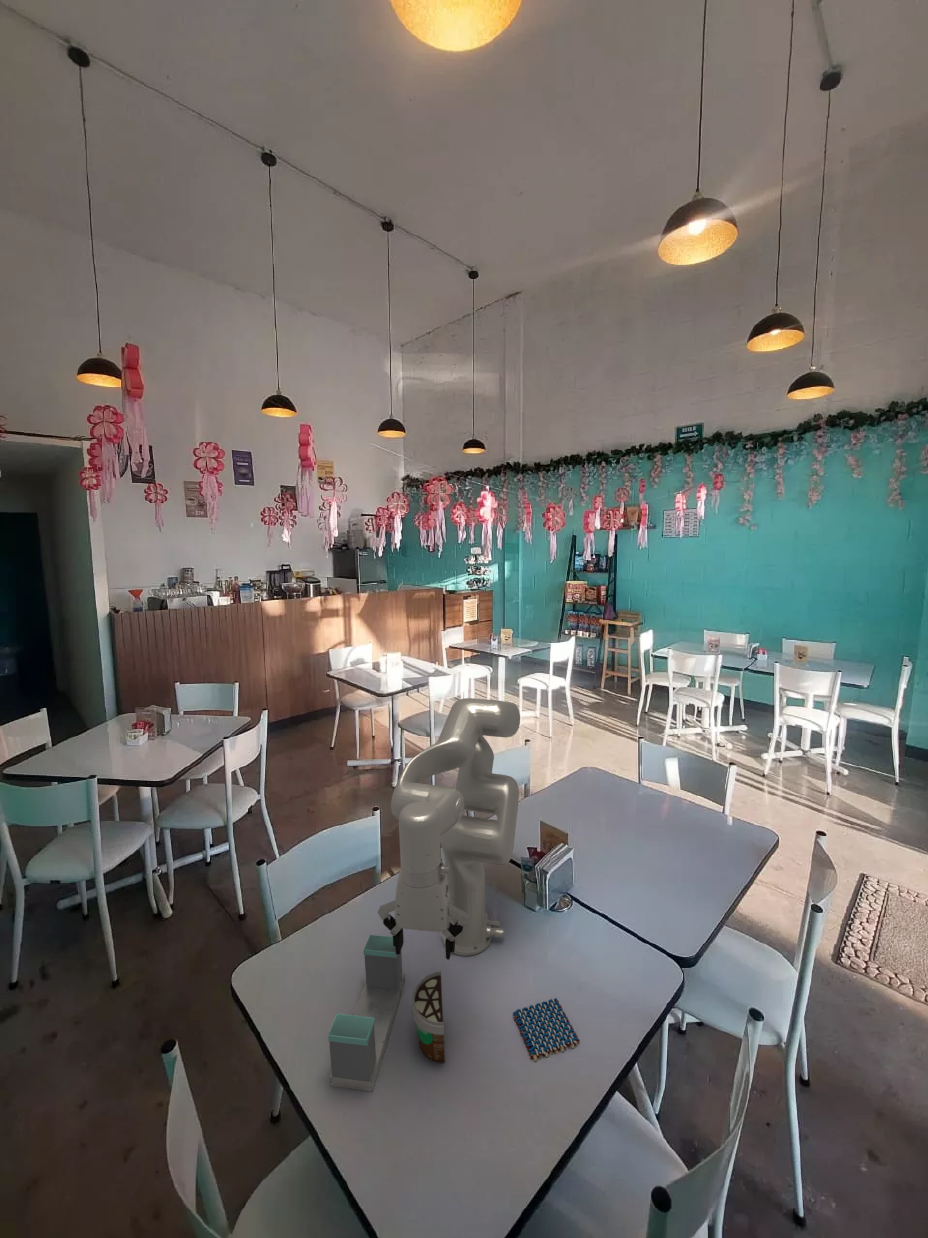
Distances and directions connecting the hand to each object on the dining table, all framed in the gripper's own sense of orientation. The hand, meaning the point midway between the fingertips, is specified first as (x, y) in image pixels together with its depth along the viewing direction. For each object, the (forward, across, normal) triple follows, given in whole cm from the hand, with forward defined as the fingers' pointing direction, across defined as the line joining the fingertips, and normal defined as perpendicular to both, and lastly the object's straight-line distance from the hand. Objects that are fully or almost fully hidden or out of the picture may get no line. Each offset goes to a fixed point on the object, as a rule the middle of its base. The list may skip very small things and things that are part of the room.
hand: (424, 951), depth 97 cm
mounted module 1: (+18, +12, +8) cm, 23 cm away
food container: (+20, 0, 0) cm, 20 cm away
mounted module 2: (+18, +12, -11) cm, 24 cm away
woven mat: (+21, -23, -5) cm, 32 cm away
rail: (+20, +12, -1) cm, 23 cm away
